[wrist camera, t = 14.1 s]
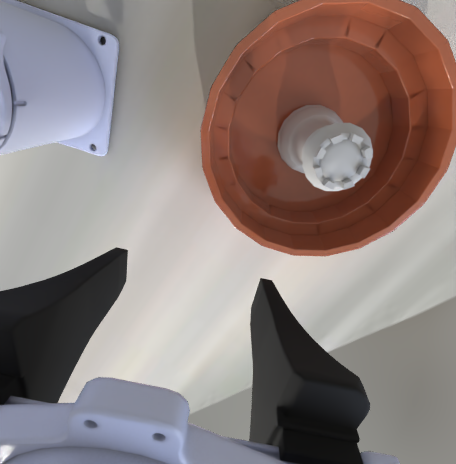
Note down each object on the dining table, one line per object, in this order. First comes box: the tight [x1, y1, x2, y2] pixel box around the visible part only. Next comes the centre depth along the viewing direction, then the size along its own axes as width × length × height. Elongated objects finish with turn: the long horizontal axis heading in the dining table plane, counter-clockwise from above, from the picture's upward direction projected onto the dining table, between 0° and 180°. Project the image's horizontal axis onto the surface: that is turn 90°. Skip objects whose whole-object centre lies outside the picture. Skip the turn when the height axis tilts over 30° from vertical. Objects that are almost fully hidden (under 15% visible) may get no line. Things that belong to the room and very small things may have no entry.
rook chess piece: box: [277, 105, 373, 191], centre depth 16 cm, size 4×4×8 cm
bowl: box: [201, 0, 456, 256], centre depth 18 cm, size 14×14×5 cm
